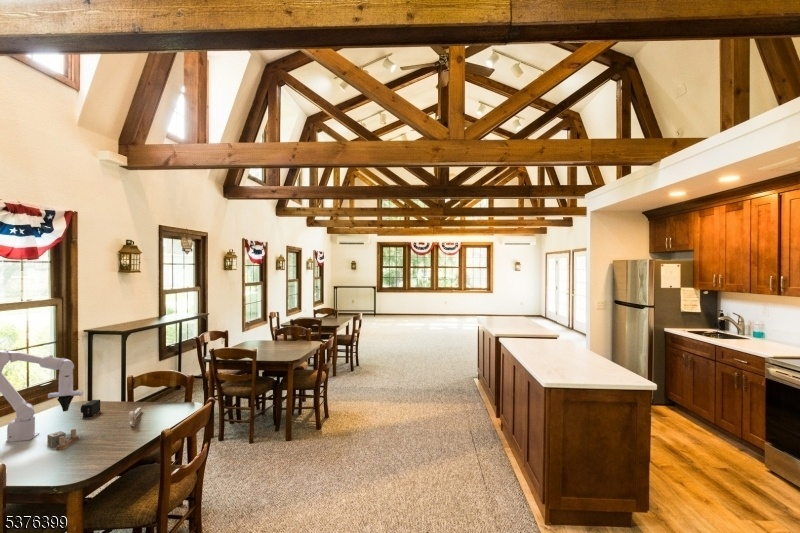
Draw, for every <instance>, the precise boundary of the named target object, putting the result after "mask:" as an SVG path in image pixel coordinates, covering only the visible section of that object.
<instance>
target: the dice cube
mask: <svg viewBox="0 0 800 533" xmlns="http://www.w3.org/2000/svg"><path fill="white" fill-rule="evenodd" d="M62 436H65V440H67V439H66V438H67V436H66V432H64V431H61V430H60V431H55V432H53V433H49V434H47V443H46V444H47V446H48V447H50V448H52V449H53V448H56V447H57V446H58V445H59V438H60V437H62Z"/></svg>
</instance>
